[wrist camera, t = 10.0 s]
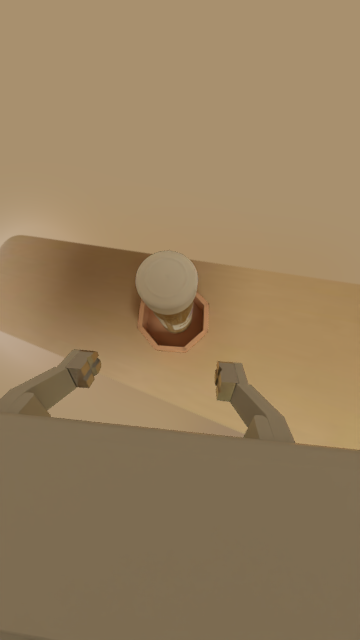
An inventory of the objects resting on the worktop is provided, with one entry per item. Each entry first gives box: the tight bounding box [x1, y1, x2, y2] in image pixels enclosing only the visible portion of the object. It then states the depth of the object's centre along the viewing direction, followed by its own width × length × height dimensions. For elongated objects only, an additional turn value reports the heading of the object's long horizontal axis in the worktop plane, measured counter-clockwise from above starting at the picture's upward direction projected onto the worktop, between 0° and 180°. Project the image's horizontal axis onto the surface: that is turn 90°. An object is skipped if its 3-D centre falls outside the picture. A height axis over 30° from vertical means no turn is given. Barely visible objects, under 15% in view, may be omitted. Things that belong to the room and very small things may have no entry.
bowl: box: [137, 292, 209, 353], centre depth 23 cm, size 9×9×4 cm
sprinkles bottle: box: [135, 251, 198, 334], centre depth 18 cm, size 5×4×13 cm
